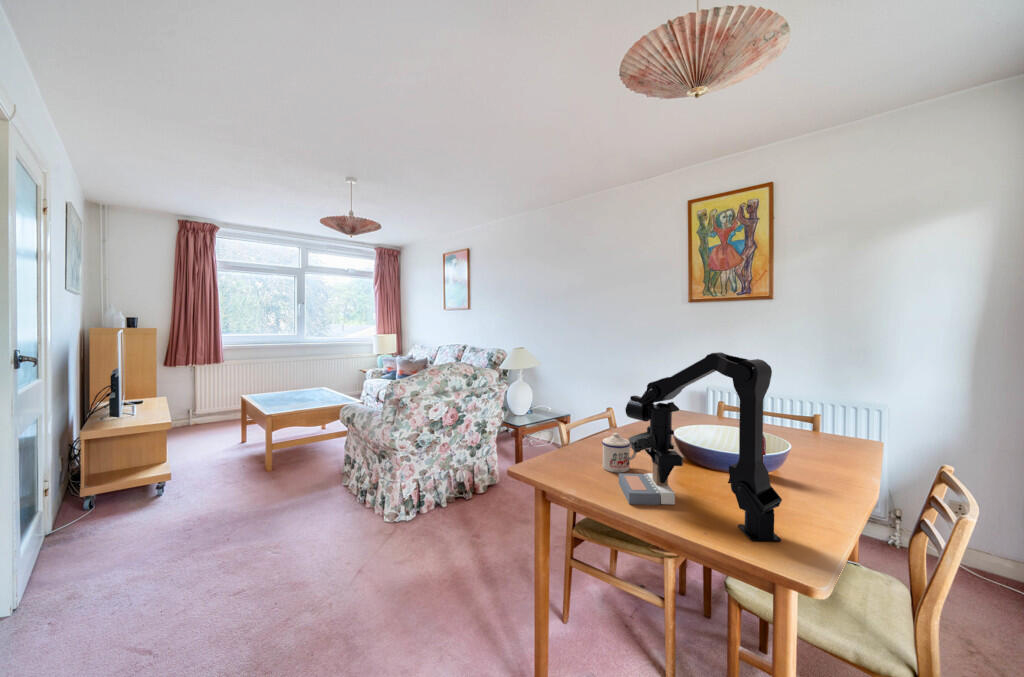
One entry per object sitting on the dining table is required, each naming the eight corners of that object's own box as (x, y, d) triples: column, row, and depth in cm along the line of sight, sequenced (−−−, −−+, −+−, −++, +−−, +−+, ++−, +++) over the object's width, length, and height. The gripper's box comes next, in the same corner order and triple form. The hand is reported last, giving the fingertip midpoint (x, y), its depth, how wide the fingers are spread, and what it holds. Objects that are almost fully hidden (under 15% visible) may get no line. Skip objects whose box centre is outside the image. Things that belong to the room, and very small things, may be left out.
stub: (674, 504, 108) (675, 474, 107) (660, 504, 108) (661, 474, 108) (659, 483, 122) (659, 456, 121) (646, 483, 122) (647, 456, 122)
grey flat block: (659, 504, 108) (659, 493, 108) (629, 504, 108) (629, 492, 108) (645, 483, 122) (645, 473, 122) (618, 483, 122) (618, 473, 122)
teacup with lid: (609, 474, 129) (609, 438, 129) (597, 464, 138) (597, 430, 138) (643, 471, 132) (643, 435, 132) (629, 461, 141) (629, 428, 140)
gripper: (624, 416, 124) (624, 467, 124) (639, 433, 105) (639, 493, 106) (661, 417, 123) (661, 468, 124) (683, 434, 104) (683, 494, 105)
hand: (660, 479), depth 115 cm, fingers closed on stub, 4 cm apart
